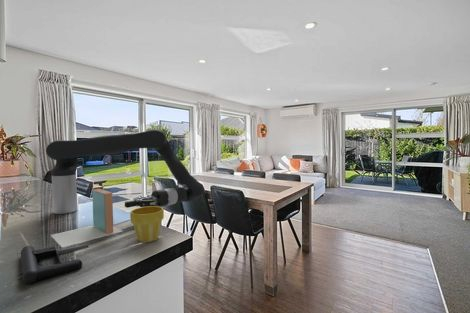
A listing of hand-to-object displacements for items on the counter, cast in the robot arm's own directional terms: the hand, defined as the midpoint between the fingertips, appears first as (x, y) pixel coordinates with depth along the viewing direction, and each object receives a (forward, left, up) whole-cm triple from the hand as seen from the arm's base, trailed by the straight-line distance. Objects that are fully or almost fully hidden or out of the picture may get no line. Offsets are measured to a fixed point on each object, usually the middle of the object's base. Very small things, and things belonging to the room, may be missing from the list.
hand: (125, 204), depth 92 cm
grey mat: (0, -13, -8) cm, 15 cm away
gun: (+14, -25, -9) cm, 30 cm away
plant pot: (+19, -1, -8) cm, 21 cm away
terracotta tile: (0, -8, -7) cm, 11 cm away
